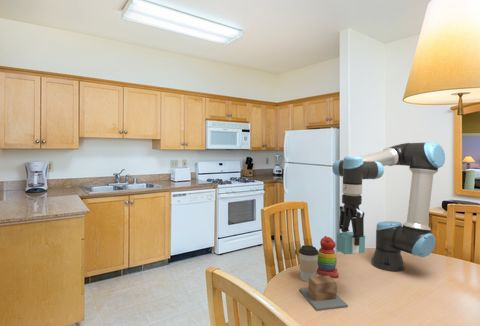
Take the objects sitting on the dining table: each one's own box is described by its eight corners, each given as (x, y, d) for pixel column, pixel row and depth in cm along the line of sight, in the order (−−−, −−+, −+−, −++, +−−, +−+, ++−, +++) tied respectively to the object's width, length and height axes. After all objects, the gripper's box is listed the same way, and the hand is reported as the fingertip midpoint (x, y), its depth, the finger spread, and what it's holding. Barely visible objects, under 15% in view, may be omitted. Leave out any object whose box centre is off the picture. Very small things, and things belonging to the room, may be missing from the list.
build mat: (326, 287, 126) (326, 285, 126) (347, 307, 110) (347, 305, 110) (299, 290, 123) (299, 288, 123) (316, 310, 108) (316, 308, 108)
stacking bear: (339, 278, 135) (340, 241, 134) (317, 276, 137) (317, 239, 136) (336, 269, 146) (337, 234, 145) (315, 267, 148) (316, 233, 147)
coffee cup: (320, 277, 136) (321, 246, 136) (314, 284, 129) (314, 251, 128) (302, 272, 141) (303, 242, 141) (295, 279, 134) (295, 247, 133)
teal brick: (355, 247, 123) (356, 231, 122) (364, 252, 117) (365, 235, 116) (336, 249, 120) (336, 232, 120) (344, 254, 115) (345, 237, 114)
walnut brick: (328, 291, 121) (328, 275, 120) (336, 299, 115) (336, 281, 115) (308, 293, 119) (308, 277, 118) (315, 301, 113) (315, 283, 113)
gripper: (331, 191, 126) (329, 243, 127) (358, 198, 108) (356, 259, 108) (346, 191, 128) (345, 242, 129) (375, 197, 109) (373, 257, 110)
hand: (350, 250), depth 119 cm, fingers closed on teal brick, 6 cm apart
